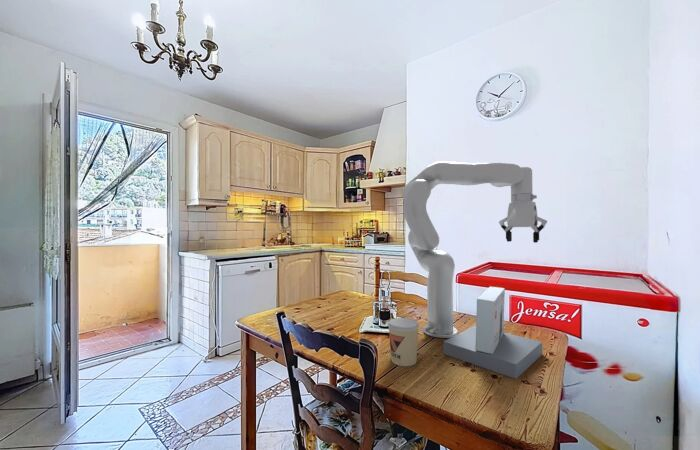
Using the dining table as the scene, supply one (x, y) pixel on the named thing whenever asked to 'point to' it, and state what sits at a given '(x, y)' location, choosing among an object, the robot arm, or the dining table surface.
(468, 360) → the podium
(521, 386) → the dining table surface
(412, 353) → the coffee cup
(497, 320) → the skincare box
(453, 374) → the dining table surface
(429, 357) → the dining table surface
